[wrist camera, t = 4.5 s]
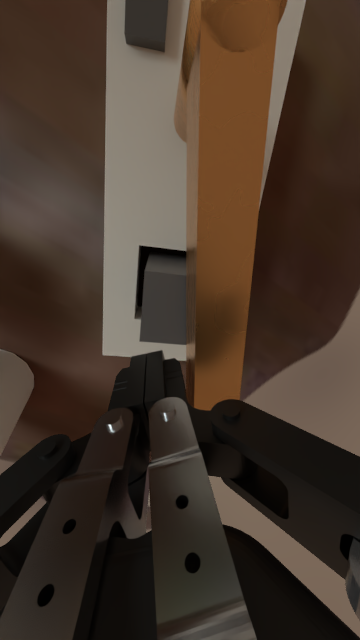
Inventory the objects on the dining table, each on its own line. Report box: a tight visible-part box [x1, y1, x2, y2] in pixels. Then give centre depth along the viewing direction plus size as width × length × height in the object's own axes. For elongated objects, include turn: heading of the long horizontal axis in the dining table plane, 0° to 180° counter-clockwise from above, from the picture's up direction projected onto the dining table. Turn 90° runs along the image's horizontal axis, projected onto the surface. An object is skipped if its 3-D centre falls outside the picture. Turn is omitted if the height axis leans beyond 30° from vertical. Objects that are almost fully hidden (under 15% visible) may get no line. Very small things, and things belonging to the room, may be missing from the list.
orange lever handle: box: [174, 0, 287, 411], centre depth 13 cm, size 2×16×9 cm, turn 0°
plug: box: [139, 252, 186, 345], centre depth 17 cm, size 4×4×8 cm
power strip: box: [103, 0, 306, 361], centre depth 17 cm, size 10×22×4 cm, turn 173°
